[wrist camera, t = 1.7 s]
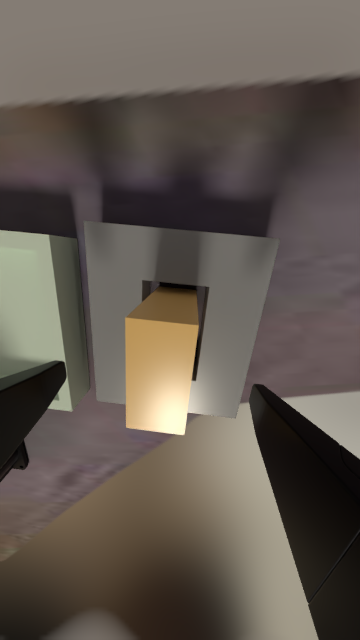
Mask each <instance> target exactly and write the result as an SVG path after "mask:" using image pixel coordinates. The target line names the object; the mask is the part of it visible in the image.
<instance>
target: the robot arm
mask: <svg viewBox="0 0 360 640" xmlns="http://www.w3.org/2000/svg"><path fill="white" fill-rule="evenodd" d="M66 378H67V373H66V365H65V362H64V361H58V360H54V361H51V362H48V363H45V364H42V365H39V366H36V367H33V368H30V369H27V370H24V371H21V372H18V373H15V374H12V375H9V376H6V377H3V378H0V482H1V481H2V480H3V479H4V477H5V476H6V475H7V474H8V473H9V472H10V470H11V469H12V468H14V469H21V470H24V469H25V468H26V467H27V466H28V462H27V458H26V454H25V450H24V446H23V443H22V441H23V440H24V438H25V437H26V436H27V434H28V433H29V432H30V431H31V429H32V428H33V427H34V426H35V424H36V423H37V422H38V420H39V419H40V418H41V417H42V415H43V414H44V413H45V411H46V410H47V409H48V407H49V406H50V404H51V403H52V401H53V399H54V398H55V396H56V395H57V393H58V392H59V390H60V389H61V387H62V386H63V384H64V382H65V381H66ZM249 404H250V409H251V414H252V419H253V424H254V429H255V434H256V437H257V441H258V445H259V447H260V451H261V454H262V457H263V461H264V464H265V467H266V470H267V474H268V477H269V480H270V483H271V486H272V489H273V493H274V496H275V499H276V503H277V506H278V509H279V512H280V515H281V518H282V522H283V525H284V528H285V532H286V535H287V538H288V541H289V545H290V548H291V551H292V554H293V558H294V560H295V564H296V567H297V570H298V574H299V577H300V580H301V583H302V586H303V590H304V593H305V596H306V599H307V602H308V603H309V604H308V606H309V610H310V613H311V616H312V619H313V622H314V626H315V629H316V632H317V636H318V639H319V640H360V459H359V458H357V457H356V456H355V455H353V454H352V453H351V452H349V451H348V450H347V449H345V448H344V447H343V446H342V445H339V443H338V442H336V441H335V440H334V439H333V438H331V437H330V436H329V435H327V434H326V433H325V432H324V431H322V430H321V429H320V428H318V427H317V426H316V425H314V424H313V423H312V422H311V421H309V420H308V419H306V418H305V417H304V416H303V415H301V414H300V413H299V412H298V411H296V410H295V409H294V408H292V407H291V406H290V405H289V404H287V403H286V402H285V401H283V400H282V399H281V398H279V397H278V396H277V395H276V394H274V393H273V392H272V391H270V390H269V389H268V388H267V387H265V386H264V385H261V384H254V385H253V386H252V390H251V394H250V398H249Z"/></svg>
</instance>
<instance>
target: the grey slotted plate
mask: <svg viewBox="0 0 360 640" xmlns="http://www.w3.org/2000/svg"><path fill="white" fill-rule="evenodd" d="M84 233H85V246H86V260H87V273H88V287H89V301H90V314H91V328H92V341H93V355H94V368H95V382H96V395H97V401H102V402H110V403H118V404H126V345H125V317H126V316H128V315H129V314H130V313H131V312H132V311H133V310H134V309H135V308H136V307H137V306H138V305H140V304H141V303H142V302H143V301H144V300H145V299H146V298H147V297H148V296H149V295H150V281H156V282H166V283H176V284H186V285H196V286H206V293H205V300H204V308H203V315H202V322H201V330H200V337H199V344H198V352H197V359H196V364H194V365H193V373H192V380H191V388H190V396H189V403H188V411H187V412H189V413H197V414H206V415H213V416H221V417H229V418H236V415H237V412H238V408H239V404H240V400H241V395H242V391H243V387H244V383H245V379H246V375H247V371H248V367H249V363H250V359H251V355H252V351H253V347H254V343H255V339H256V335H257V331H258V327H259V323H260V319H261V315H262V311H263V307H264V303H265V299H266V295H267V291H268V287H269V283H270V278H271V274H272V270H273V266H274V262H275V258H276V254H277V250H278V246H279V242H280V239H277V238H266V237H255V236H244V235H233V234H222V233H211V232H200V231H189V230H178V229H167V228H156V227H145V226H134V225H123V224H112V223H101V222H90V221H84Z"/></svg>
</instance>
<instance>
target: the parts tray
mask: <svg viewBox="0 0 360 640" xmlns="http://www.w3.org/2000/svg"><path fill="white" fill-rule="evenodd" d="M54 360H58V361H64V362H65V365H66V373H67V378H66V381H65V382H64V384H63V386H62V387H61V389H60V390H59V392H58V393H57V395H56V396H55V398H54V399H53V401H52V403H51V404H50V406H49V407H48V408H50V409H57V410H65V411H73V410H74V408H75V407H76V406H77V404H78V403H79V402H80V401H81V399H82V398H83V397H84V395H85V394H86V393H87V392H88V390H89V389H90V380H89V368H88V357H87V345H86V333H85V322H84V310H83V299H82V287H81V275H80V264H79V252H78V241H77V239H76V238H69V237H61V236H54V235H46V234H35V233H25V232H14V231H3V230H0V378H3V377H6V376H9V375H12V374H15V373H18V372H21V371H24V370H27V369H30V368H33V367H36V366H39V365H42V364H45V363H48V362H51V361H54Z"/></svg>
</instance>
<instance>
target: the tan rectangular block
mask: <svg viewBox="0 0 360 640" xmlns="http://www.w3.org/2000/svg"><path fill="white" fill-rule="evenodd" d="M198 328H199V322H198V307H197V292H196V290H191V289H181V288H171V287H161V286H159V287H158V288H157V289H156V290H155V291H154V292H153V293H152V294H150V295H149V296H148V297H147V298H146V299H145V300H144V301H143V302H142V303H141V304H140V305H138V306H137V307H136V308H135V309H134V310H133V311H132V312H131V313H130V314H129V315H128V316H126V317H125V345H126V428H133V429H140V430H148V431H156V432H163V433H171V434H179V435H184V433H185V426H186V418H187V411H188V403H189V396H190V388H191V380H192V373H193V365H194V358H195V350H196V343H197V335H198Z"/></svg>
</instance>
